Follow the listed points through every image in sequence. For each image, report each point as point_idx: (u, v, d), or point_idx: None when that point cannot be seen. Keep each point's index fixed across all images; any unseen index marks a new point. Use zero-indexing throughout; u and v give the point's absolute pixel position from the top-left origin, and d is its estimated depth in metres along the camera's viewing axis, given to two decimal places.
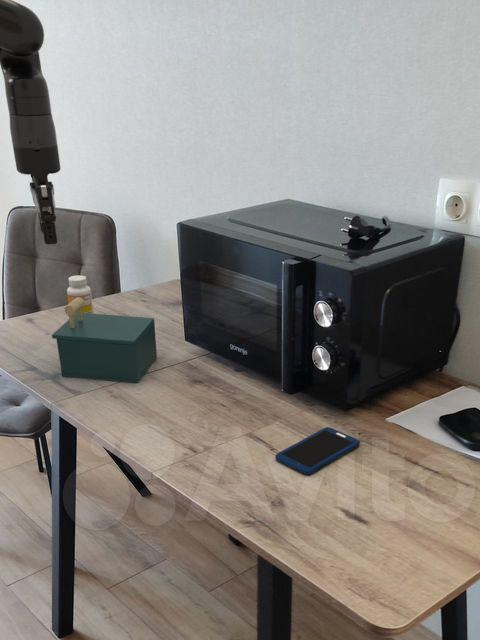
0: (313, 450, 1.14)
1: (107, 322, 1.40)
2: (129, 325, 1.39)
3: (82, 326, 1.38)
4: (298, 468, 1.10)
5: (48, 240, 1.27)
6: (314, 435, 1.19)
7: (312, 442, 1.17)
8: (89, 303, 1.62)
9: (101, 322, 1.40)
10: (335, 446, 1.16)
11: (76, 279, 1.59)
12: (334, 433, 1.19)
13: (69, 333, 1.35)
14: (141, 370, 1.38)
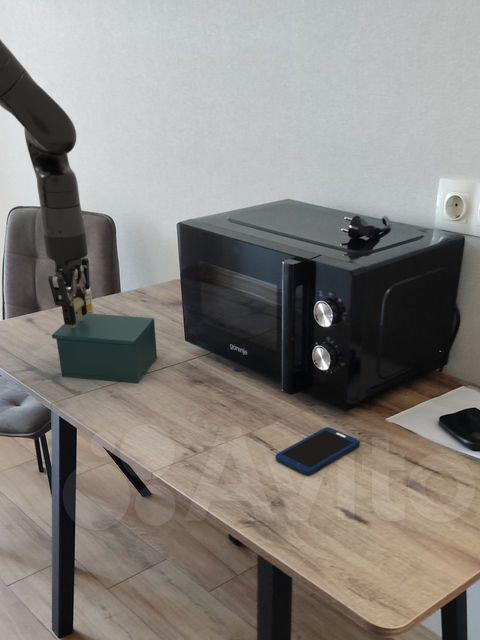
0: (313, 450, 1.14)
1: (107, 322, 1.40)
2: (129, 325, 1.39)
3: (82, 326, 1.38)
4: (298, 468, 1.10)
5: None
6: (314, 435, 1.19)
7: (312, 442, 1.17)
8: (89, 303, 1.62)
9: (101, 322, 1.40)
10: (335, 446, 1.16)
11: None
12: (334, 433, 1.19)
13: (69, 333, 1.35)
14: (141, 370, 1.38)
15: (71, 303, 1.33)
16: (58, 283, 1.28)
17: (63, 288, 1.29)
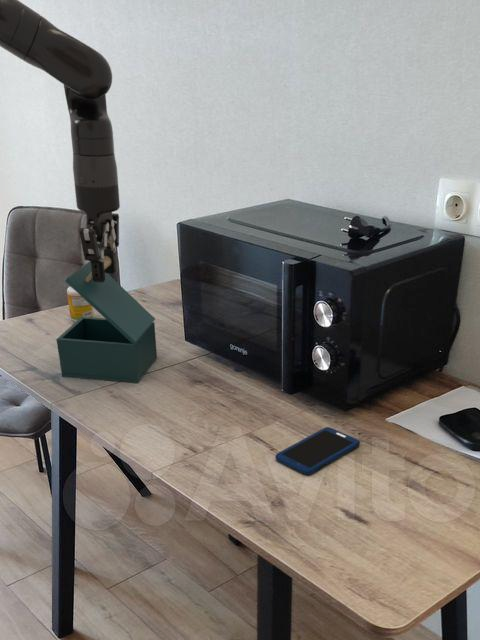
0: (313, 450, 1.14)
1: (116, 294, 1.37)
2: (134, 314, 1.37)
3: (95, 285, 1.33)
4: (298, 468, 1.10)
5: None
6: (314, 434, 1.19)
7: (312, 442, 1.17)
8: None
9: (111, 291, 1.36)
10: (335, 446, 1.16)
11: None
12: (334, 433, 1.19)
13: (83, 288, 1.29)
14: (141, 370, 1.38)
15: (101, 258, 1.27)
16: (89, 236, 1.22)
17: (95, 241, 1.23)
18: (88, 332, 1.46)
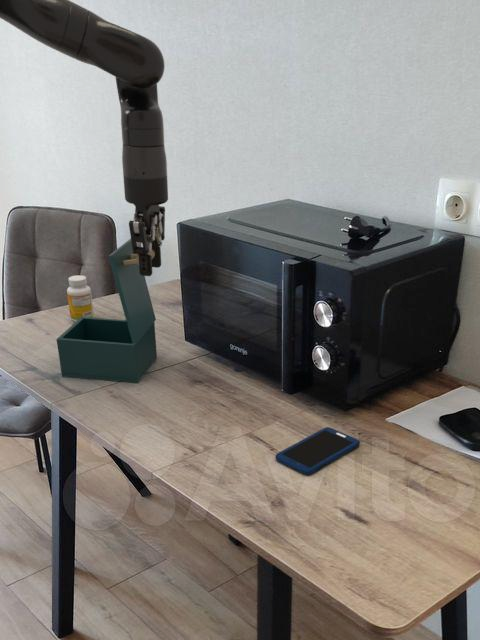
0: (313, 450, 1.14)
1: (139, 284, 1.35)
2: (144, 311, 1.37)
3: (128, 269, 1.30)
4: (298, 468, 1.10)
5: None
6: (314, 435, 1.19)
7: (312, 442, 1.17)
8: (89, 303, 1.62)
9: (136, 280, 1.34)
10: (335, 446, 1.16)
11: (76, 279, 1.59)
12: (334, 433, 1.19)
13: (119, 270, 1.26)
14: (141, 370, 1.38)
15: (149, 252, 1.25)
16: (139, 228, 1.20)
17: (144, 234, 1.21)
18: (88, 332, 1.46)
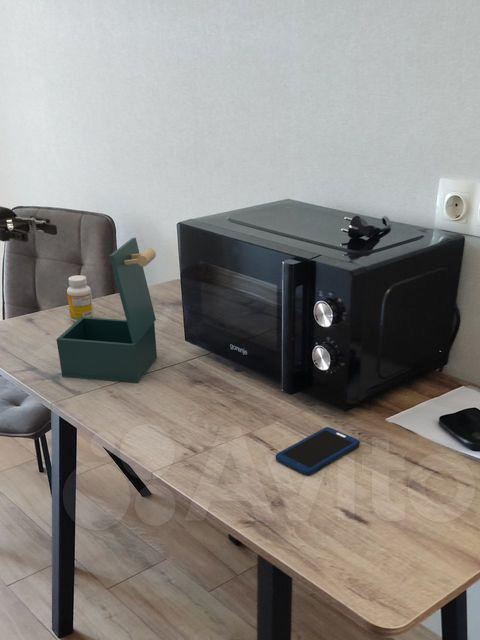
0: (313, 450, 1.14)
1: (139, 284, 1.35)
2: (144, 311, 1.37)
3: (128, 269, 1.30)
4: (298, 468, 1.10)
5: None
6: (314, 435, 1.19)
7: (312, 442, 1.17)
8: (89, 303, 1.62)
9: (137, 280, 1.34)
10: (335, 446, 1.16)
11: (76, 279, 1.59)
12: (334, 433, 1.19)
13: (120, 270, 1.26)
14: (141, 370, 1.38)
15: (8, 228, 1.57)
16: None
17: None
18: (88, 332, 1.46)
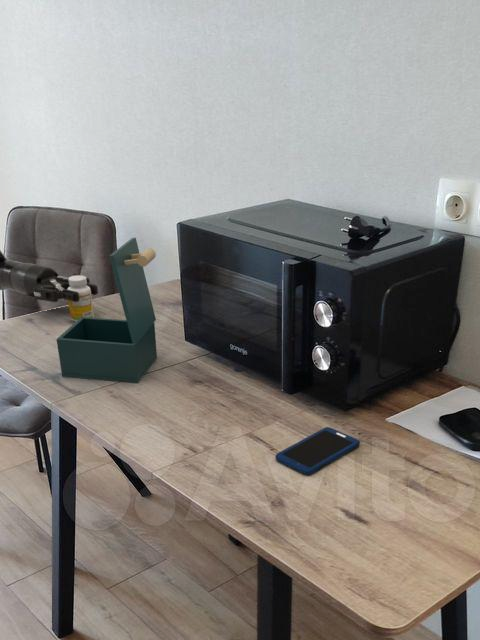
0: (313, 450, 1.14)
1: (139, 284, 1.35)
2: (144, 311, 1.37)
3: (128, 269, 1.30)
4: (298, 468, 1.10)
5: None
6: (314, 435, 1.19)
7: (312, 442, 1.17)
8: (89, 303, 1.62)
9: (137, 280, 1.34)
10: (335, 446, 1.16)
11: (76, 279, 1.59)
12: (334, 433, 1.19)
13: (120, 270, 1.26)
14: (141, 370, 1.38)
15: (59, 289, 1.59)
16: (36, 291, 1.60)
17: (41, 289, 1.59)
18: (88, 332, 1.46)
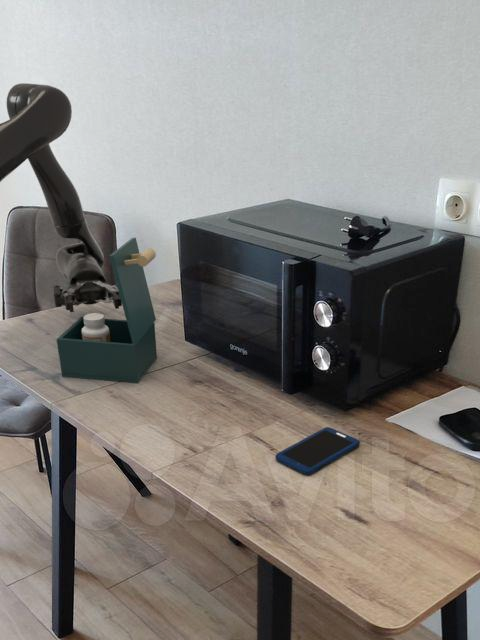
0: (313, 450, 1.14)
1: (139, 284, 1.35)
2: (144, 311, 1.37)
3: (128, 269, 1.30)
4: (298, 468, 1.10)
5: None
6: (314, 435, 1.19)
7: (312, 442, 1.17)
8: None
9: (137, 280, 1.34)
10: (335, 446, 1.16)
11: (89, 318, 1.37)
12: (334, 433, 1.19)
13: (120, 270, 1.26)
14: (141, 370, 1.38)
15: (64, 294, 1.36)
16: None
17: (55, 288, 1.38)
18: None
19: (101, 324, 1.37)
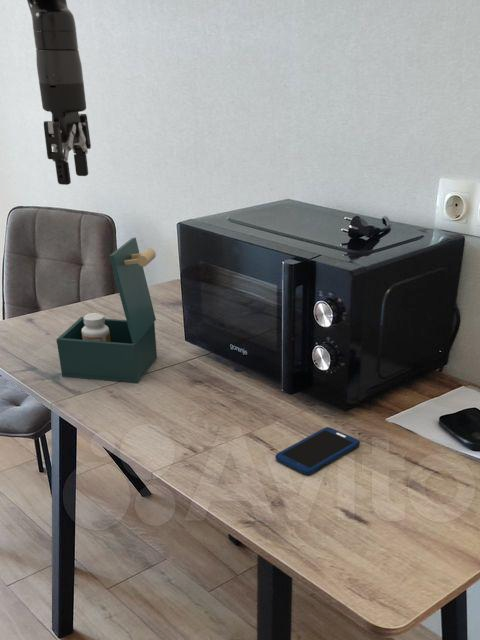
0: (313, 450, 1.14)
1: (139, 284, 1.35)
2: (144, 311, 1.37)
3: (128, 269, 1.30)
4: (298, 468, 1.10)
5: (59, 180, 1.26)
6: (314, 434, 1.19)
7: (312, 442, 1.17)
8: None
9: (137, 280, 1.34)
10: (335, 446, 1.16)
11: (89, 318, 1.37)
12: (334, 433, 1.19)
13: (120, 270, 1.26)
14: (141, 370, 1.38)
15: None
16: None
17: None
18: None
19: (101, 324, 1.37)
